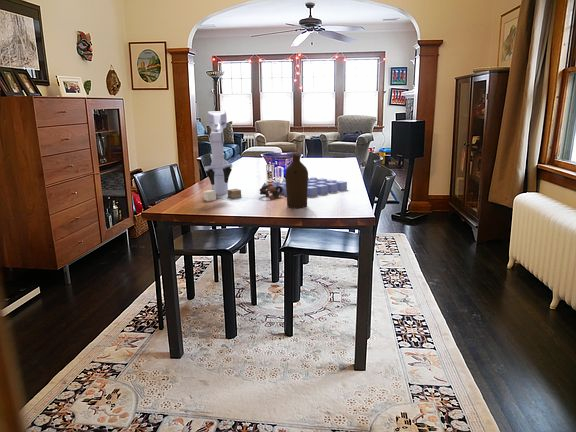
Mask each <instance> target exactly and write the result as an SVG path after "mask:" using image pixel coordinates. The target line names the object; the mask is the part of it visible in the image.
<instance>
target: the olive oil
mask: <svg viewBox="0 0 576 432" xmlns="http://www.w3.org/2000/svg"><path fill="white" fill-rule="evenodd" d="M284 174H285V175H284V179H286V193H287V196H286V206H287V208H290V209H303V208H307V207H308V196H307V190H308V178H309V171H308V168H307V167H306V166H305V164H303V163H302V161H301V155H300V152H292V161H291V163H289V165H288V166H287V167H286V169H285V173H284Z"/></svg>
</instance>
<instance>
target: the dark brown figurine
mask: <svg viewBox="0 0 576 432" xmlns="http://www.w3.org/2000/svg"><path fill="white" fill-rule="evenodd" d="M278 189H280V191H279V192H278V191H277V190H278ZM282 191H283V188H282V187H281V186H276V187H274V186H273V185H272V183H270V184H267V186H264V187H262V186H261V188H259V195H260V196H261V195H263V196H266V197H269V199H270V200H275V199H277V200H278V199H279V197H280V194H281V193H282ZM269 192H270V193H271V195H270V193H269Z"/></svg>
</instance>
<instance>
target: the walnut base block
mask: <svg viewBox="0 0 576 432" xmlns="http://www.w3.org/2000/svg"><path fill="white" fill-rule="evenodd" d="M227 195H228V198H231V199H235V198H241V195H242V190H241V189H238V188H231V189H230V188H229V189H228V194H227Z"/></svg>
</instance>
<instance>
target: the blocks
mask: <svg viewBox="0 0 576 432" xmlns="http://www.w3.org/2000/svg"><path fill="white" fill-rule="evenodd" d="M271 184H272V185H273V186H274V187H276V186H281V187H282V188H283V191H282V193H281V194H280V195H284V196H285V197H287V193H286V179H285V178H284V179H283V180H282V182H280V181H279V180H274V181H272V183H271ZM267 185H268V183H266V182H264V183H263V185H261V188H262V187H264V186H267ZM277 191H278V192H279V191H280V189H278V190H277ZM338 191H339V192H342V191H343V192H344V191H348V182H347V181H345V180H338V181H337V180H336V179H327V178H324V177H323V178H318V177H316V176H315V177H314V176H312V177H310V178H309V177H308V190H307V197H310V198H311V197H317V196H318V195H321V196H323V195H326V194H328V193H332V194H333V193H337V192H338ZM280 195H279V196H280Z"/></svg>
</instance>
